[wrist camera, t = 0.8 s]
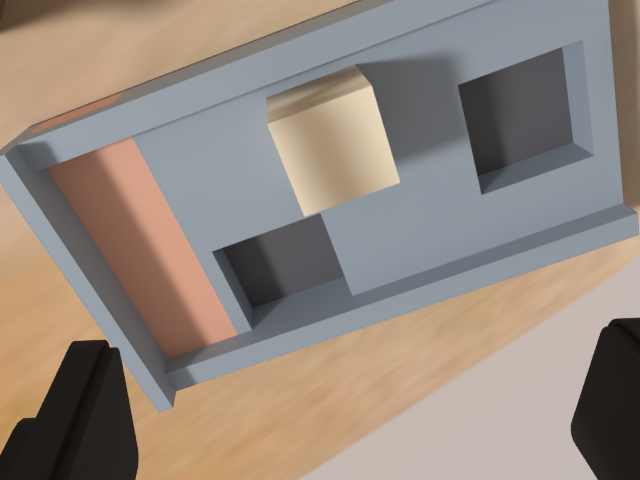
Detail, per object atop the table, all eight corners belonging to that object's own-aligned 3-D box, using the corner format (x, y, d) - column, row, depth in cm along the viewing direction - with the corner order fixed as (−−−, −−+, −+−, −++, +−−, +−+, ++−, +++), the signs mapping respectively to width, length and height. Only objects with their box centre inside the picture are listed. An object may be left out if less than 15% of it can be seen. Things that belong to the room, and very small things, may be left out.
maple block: (354, 64, 29) (371, 85, 25) (380, 149, 31) (400, 182, 27) (265, 97, 29) (267, 124, 25) (298, 179, 32) (304, 216, 27)
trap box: (571, -82, 30) (639, -88, 24) (599, 204, 38) (654, 246, 33) (30, 126, 32) (-15, 161, 27) (171, 351, 40) (158, 412, 35)
